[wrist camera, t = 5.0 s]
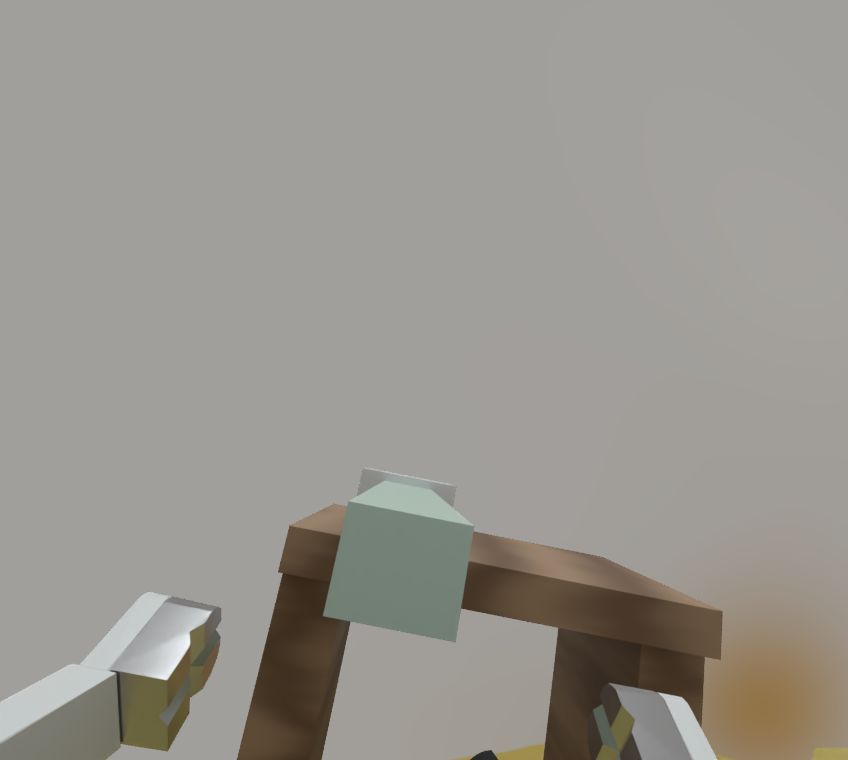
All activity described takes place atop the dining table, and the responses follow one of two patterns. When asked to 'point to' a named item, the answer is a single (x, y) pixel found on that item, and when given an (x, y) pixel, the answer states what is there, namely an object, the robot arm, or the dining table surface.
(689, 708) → the robot arm
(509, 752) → the dining table surface
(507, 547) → the shelf
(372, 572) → the pale green bar
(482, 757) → the end cap
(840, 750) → the dining table surface
